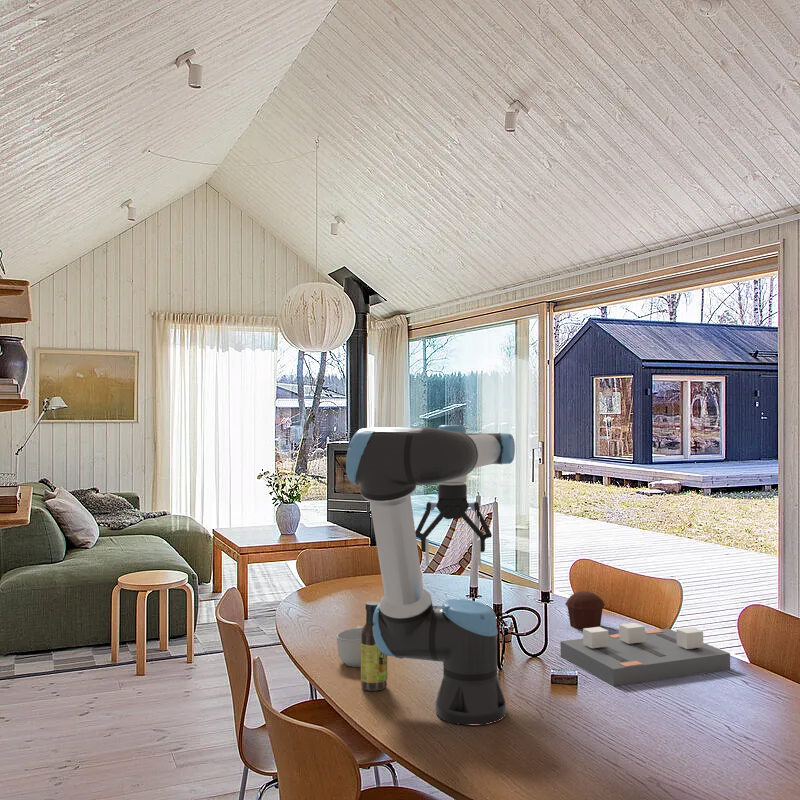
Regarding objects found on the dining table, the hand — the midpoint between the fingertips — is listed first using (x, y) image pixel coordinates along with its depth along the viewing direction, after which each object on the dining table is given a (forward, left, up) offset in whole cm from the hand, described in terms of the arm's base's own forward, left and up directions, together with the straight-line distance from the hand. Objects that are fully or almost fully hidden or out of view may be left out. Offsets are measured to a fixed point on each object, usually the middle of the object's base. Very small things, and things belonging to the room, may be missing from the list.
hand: (453, 564), depth 207 cm
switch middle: (-15, -44, -20) cm, 51 cm away
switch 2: (-24, -55, -20) cm, 64 cm away
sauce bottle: (-13, +26, -25) cm, 38 cm away
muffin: (+15, -49, -25) cm, 57 cm away
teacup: (+7, +24, -25) cm, 35 cm away
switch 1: (-15, -33, -20) cm, 42 cm away
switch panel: (-20, -44, -25) cm, 54 cm away
